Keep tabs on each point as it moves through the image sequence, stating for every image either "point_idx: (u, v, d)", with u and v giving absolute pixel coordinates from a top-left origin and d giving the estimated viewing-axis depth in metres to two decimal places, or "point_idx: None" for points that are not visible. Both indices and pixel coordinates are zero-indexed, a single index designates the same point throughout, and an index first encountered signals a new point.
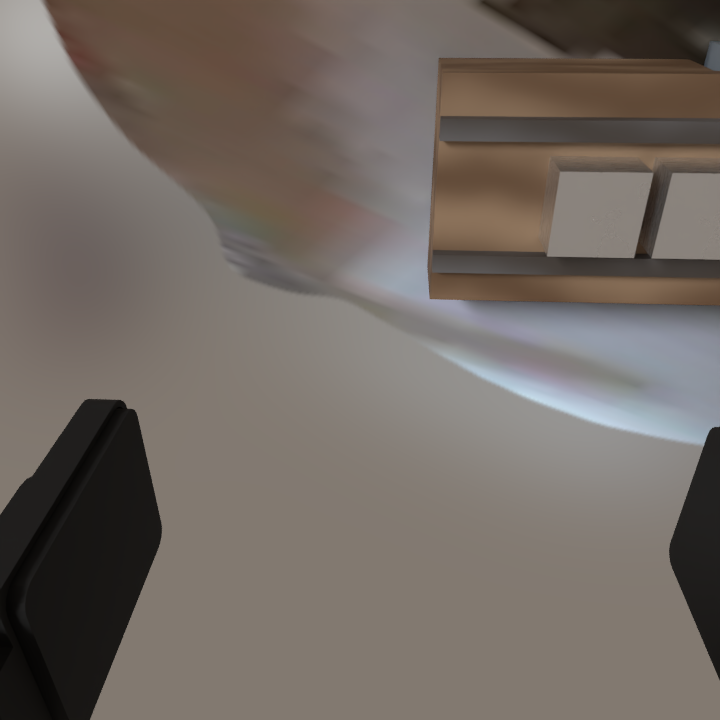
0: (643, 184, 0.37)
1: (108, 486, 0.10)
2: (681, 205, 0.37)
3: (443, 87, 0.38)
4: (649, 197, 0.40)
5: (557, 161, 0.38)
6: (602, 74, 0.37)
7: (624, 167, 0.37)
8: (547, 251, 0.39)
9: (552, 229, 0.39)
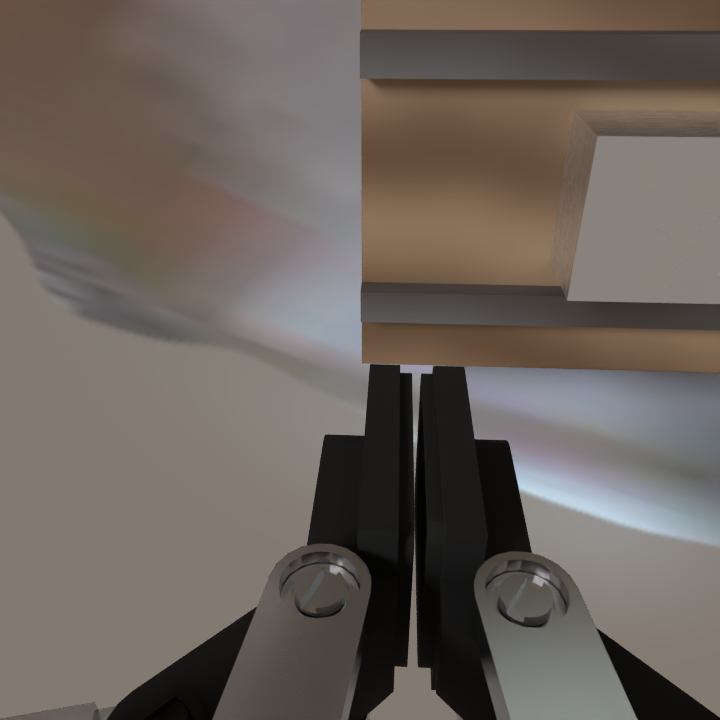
0: None
1: None
2: None
3: None
4: None
5: (589, 118, 0.20)
6: None
7: None
8: (568, 291, 0.21)
9: (577, 251, 0.20)
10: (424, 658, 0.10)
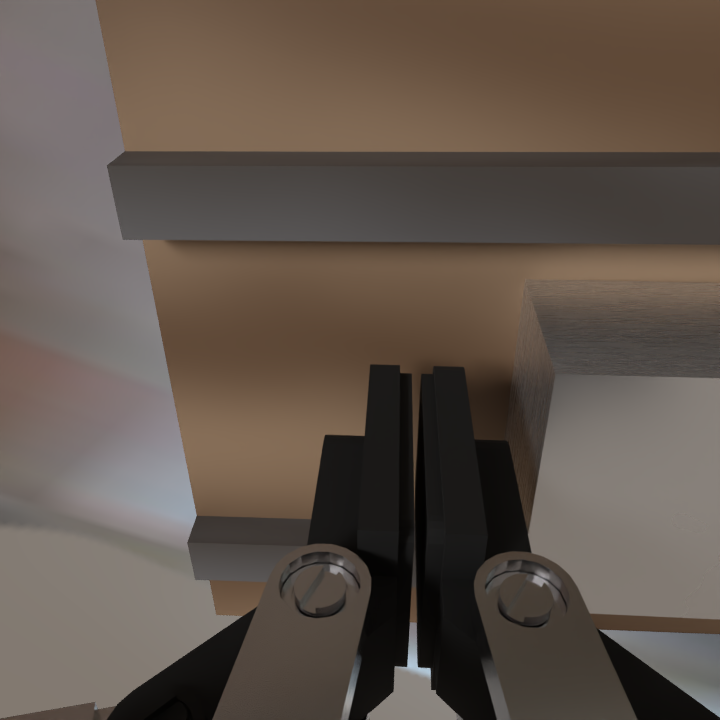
0: None
1: None
2: None
3: (109, 48, 0.10)
4: None
5: (548, 308, 0.11)
6: None
7: None
8: None
9: None
10: (424, 658, 0.10)
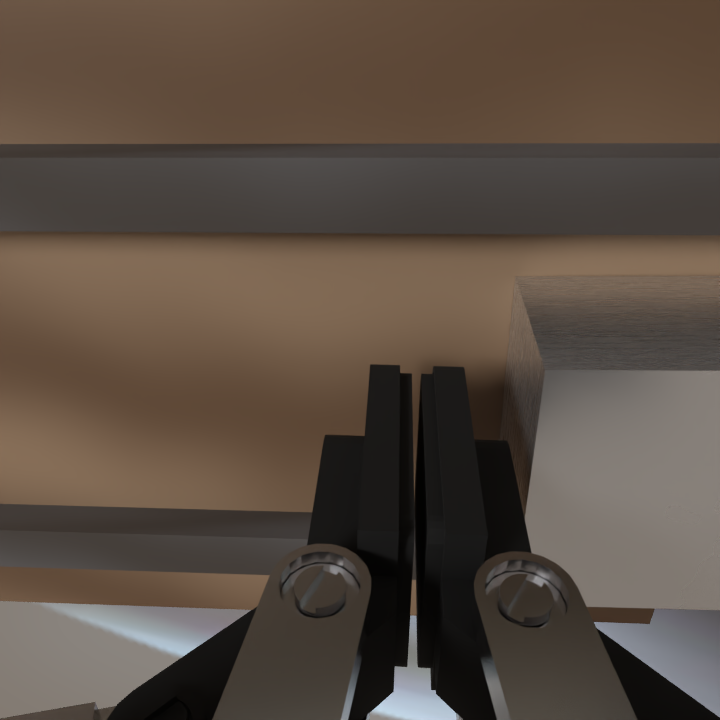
0: None
1: None
2: None
3: None
4: None
5: (538, 305, 0.11)
6: None
7: None
8: None
9: None
10: (424, 658, 0.10)
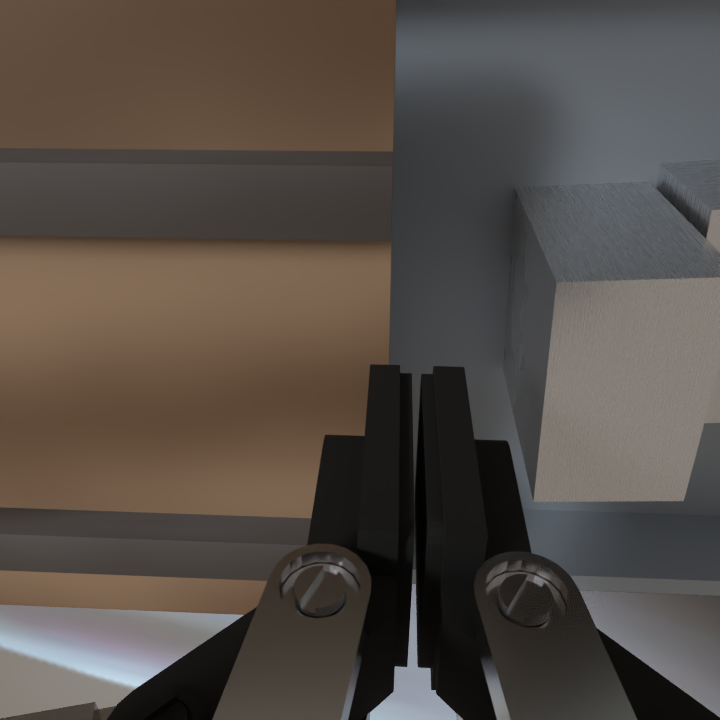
0: None
1: None
2: None
3: None
4: None
5: (618, 274, 0.11)
6: None
7: (624, 202, 0.14)
8: (678, 491, 0.14)
9: (699, 435, 0.13)
10: (424, 658, 0.10)
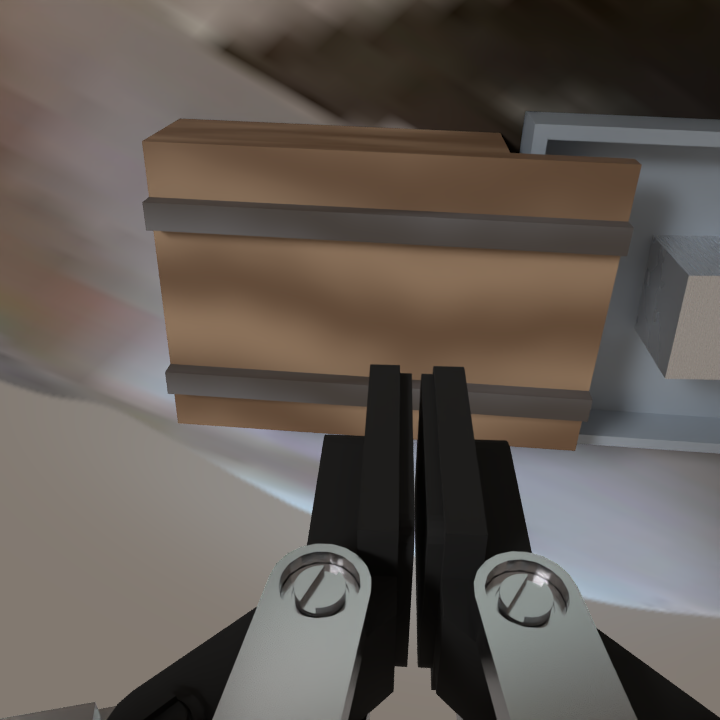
0: None
1: None
2: None
3: (146, 160, 0.28)
4: None
5: (713, 273, 0.28)
6: (353, 152, 0.27)
7: (708, 245, 0.31)
8: None
9: None
10: (424, 658, 0.10)
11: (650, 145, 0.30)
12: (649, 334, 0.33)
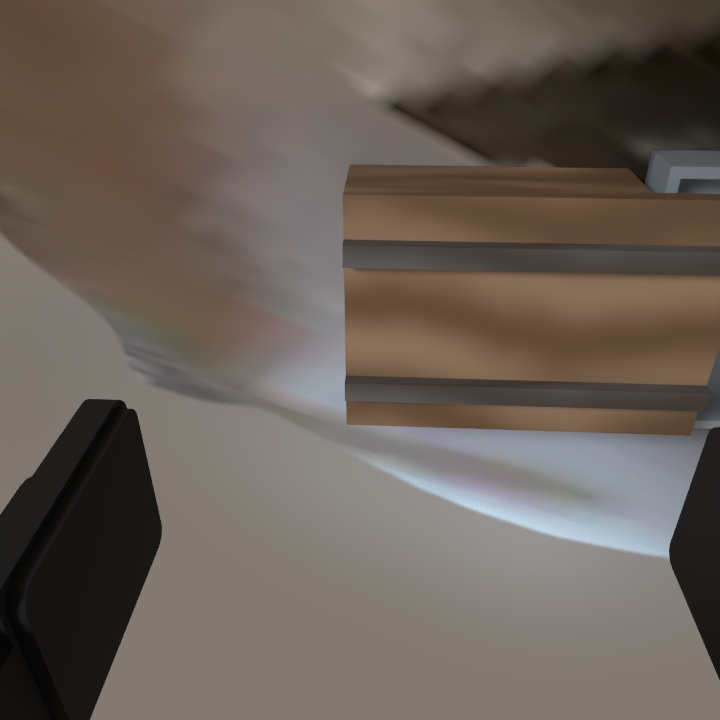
0: None
1: (108, 486, 0.10)
2: None
3: (344, 210, 0.33)
4: None
5: None
6: (523, 198, 0.32)
7: None
8: None
9: None
10: None
11: None
12: None
